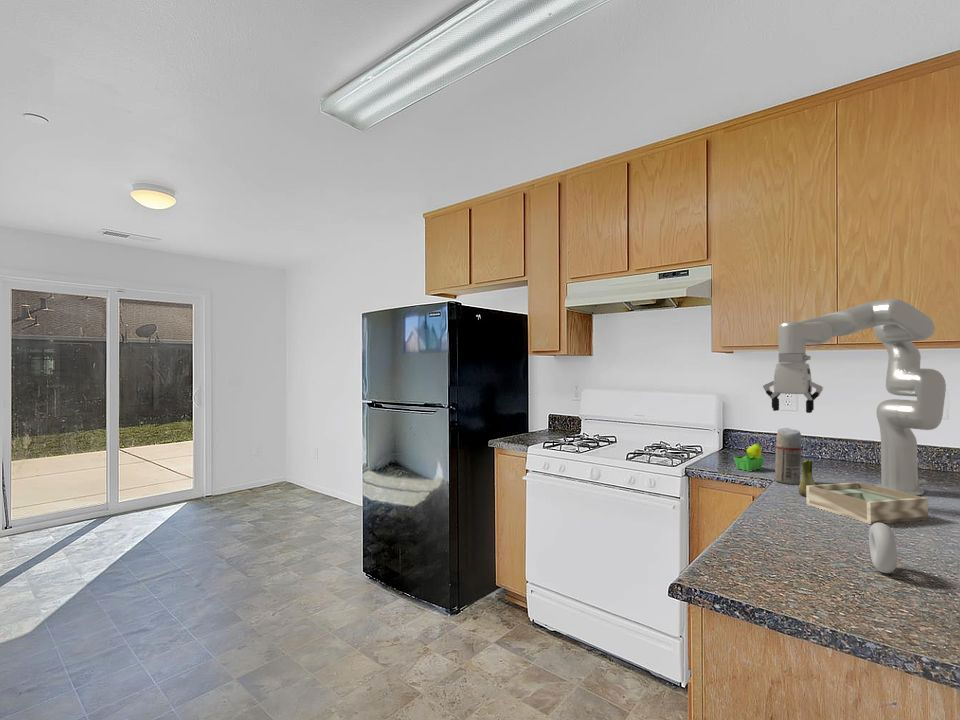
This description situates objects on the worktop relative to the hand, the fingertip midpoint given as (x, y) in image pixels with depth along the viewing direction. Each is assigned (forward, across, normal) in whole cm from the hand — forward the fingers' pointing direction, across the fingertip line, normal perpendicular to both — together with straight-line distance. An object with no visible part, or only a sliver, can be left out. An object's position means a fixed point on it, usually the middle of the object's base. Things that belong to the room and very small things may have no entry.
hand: (792, 411), depth 160 cm
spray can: (+28, +10, -24) cm, 39 cm away
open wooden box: (+28, -19, +1) cm, 34 cm away
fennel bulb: (+28, -2, -8) cm, 30 cm away
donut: (+29, -34, +50) cm, 67 cm away
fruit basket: (+28, +29, -38) cm, 55 cm away
